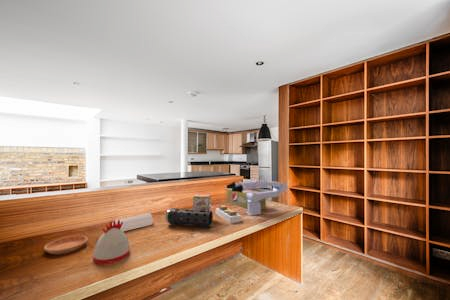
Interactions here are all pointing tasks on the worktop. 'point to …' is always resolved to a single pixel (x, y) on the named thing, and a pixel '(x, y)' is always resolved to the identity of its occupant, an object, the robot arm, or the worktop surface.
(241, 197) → the soda box
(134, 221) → the crystal
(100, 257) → the kitchen timer
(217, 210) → the switch strip
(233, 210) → the button
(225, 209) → the button
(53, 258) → the worktop surface
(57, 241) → the saucer
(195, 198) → the candy bar box
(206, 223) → the muzzle brake
